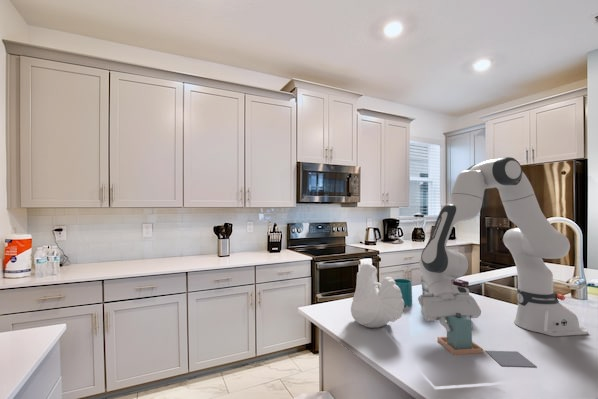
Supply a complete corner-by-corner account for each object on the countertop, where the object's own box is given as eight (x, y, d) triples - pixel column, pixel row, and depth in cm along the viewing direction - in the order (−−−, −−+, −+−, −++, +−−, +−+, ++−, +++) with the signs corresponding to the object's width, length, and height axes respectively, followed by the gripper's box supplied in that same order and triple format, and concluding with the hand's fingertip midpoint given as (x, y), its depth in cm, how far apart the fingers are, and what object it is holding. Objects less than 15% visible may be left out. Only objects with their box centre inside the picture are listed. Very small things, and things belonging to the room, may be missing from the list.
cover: (461, 342, 104) (460, 310, 104) (472, 349, 99) (471, 316, 99) (447, 343, 104) (446, 311, 104) (456, 350, 98) (455, 317, 98)
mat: (517, 353, 97) (517, 351, 97) (537, 369, 88) (536, 366, 88) (485, 353, 98) (485, 350, 98) (501, 368, 89) (501, 365, 89)
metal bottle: (438, 313, 133) (437, 269, 133) (423, 312, 134) (421, 268, 135) (435, 308, 139) (434, 266, 140) (420, 307, 141) (419, 265, 141)
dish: (463, 340, 107) (463, 332, 107) (483, 354, 97) (483, 346, 97) (437, 342, 106) (437, 334, 106) (454, 356, 96) (454, 347, 96)
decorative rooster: (345, 318, 129) (343, 262, 130) (376, 314, 134) (375, 259, 134) (376, 344, 105) (374, 274, 106) (413, 337, 110) (411, 270, 111)
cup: (384, 302, 149) (384, 280, 149) (404, 299, 153) (403, 278, 153) (395, 308, 141) (395, 284, 141) (416, 305, 144) (415, 282, 145)
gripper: (419, 290, 108) (434, 328, 98) (472, 288, 109) (492, 325, 99) (413, 299, 112) (427, 336, 102) (464, 296, 114) (483, 333, 104)
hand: (460, 331), depth 101 cm, fingers closed on cover, 5 cm apart
